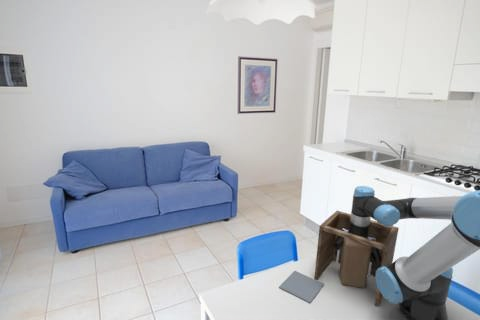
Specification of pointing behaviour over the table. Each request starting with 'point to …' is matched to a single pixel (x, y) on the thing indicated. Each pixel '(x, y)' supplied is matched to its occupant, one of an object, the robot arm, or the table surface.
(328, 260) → the cubby
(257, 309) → the table surface
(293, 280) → the mat
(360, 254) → the wooden block
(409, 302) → the robot arm
